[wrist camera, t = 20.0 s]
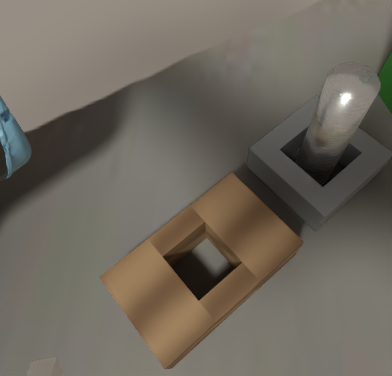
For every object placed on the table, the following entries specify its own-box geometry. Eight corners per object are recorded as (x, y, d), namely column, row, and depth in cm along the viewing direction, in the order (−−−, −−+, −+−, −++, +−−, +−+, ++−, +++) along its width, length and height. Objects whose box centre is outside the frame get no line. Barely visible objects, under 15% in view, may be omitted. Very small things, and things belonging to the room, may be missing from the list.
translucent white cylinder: (286, 169, 52) (316, 81, 36) (310, 149, 53) (350, 54, 37) (312, 192, 50) (357, 111, 34) (337, 171, 51) (391, 82, 35)
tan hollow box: (113, 287, 46) (99, 277, 41) (230, 192, 51) (231, 172, 45) (171, 368, 41) (164, 369, 36) (294, 256, 46) (303, 241, 41)
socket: (246, 166, 52) (249, 148, 48) (308, 116, 55) (316, 95, 51) (315, 231, 48) (325, 217, 43) (379, 172, 51) (394, 154, 46)
